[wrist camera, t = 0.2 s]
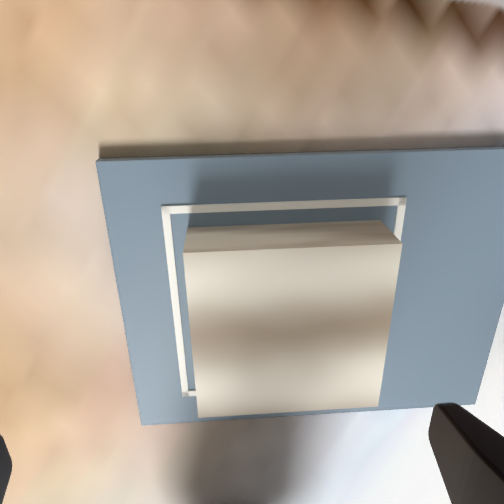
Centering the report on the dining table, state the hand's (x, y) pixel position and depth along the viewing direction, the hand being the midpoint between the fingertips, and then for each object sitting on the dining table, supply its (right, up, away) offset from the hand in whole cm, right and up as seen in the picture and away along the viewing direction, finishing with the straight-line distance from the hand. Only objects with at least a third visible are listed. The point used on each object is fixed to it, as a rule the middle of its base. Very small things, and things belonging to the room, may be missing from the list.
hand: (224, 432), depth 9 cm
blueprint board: (+4, +1, +16) cm, 17 cm away
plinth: (+2, +1, +15) cm, 15 cm away
